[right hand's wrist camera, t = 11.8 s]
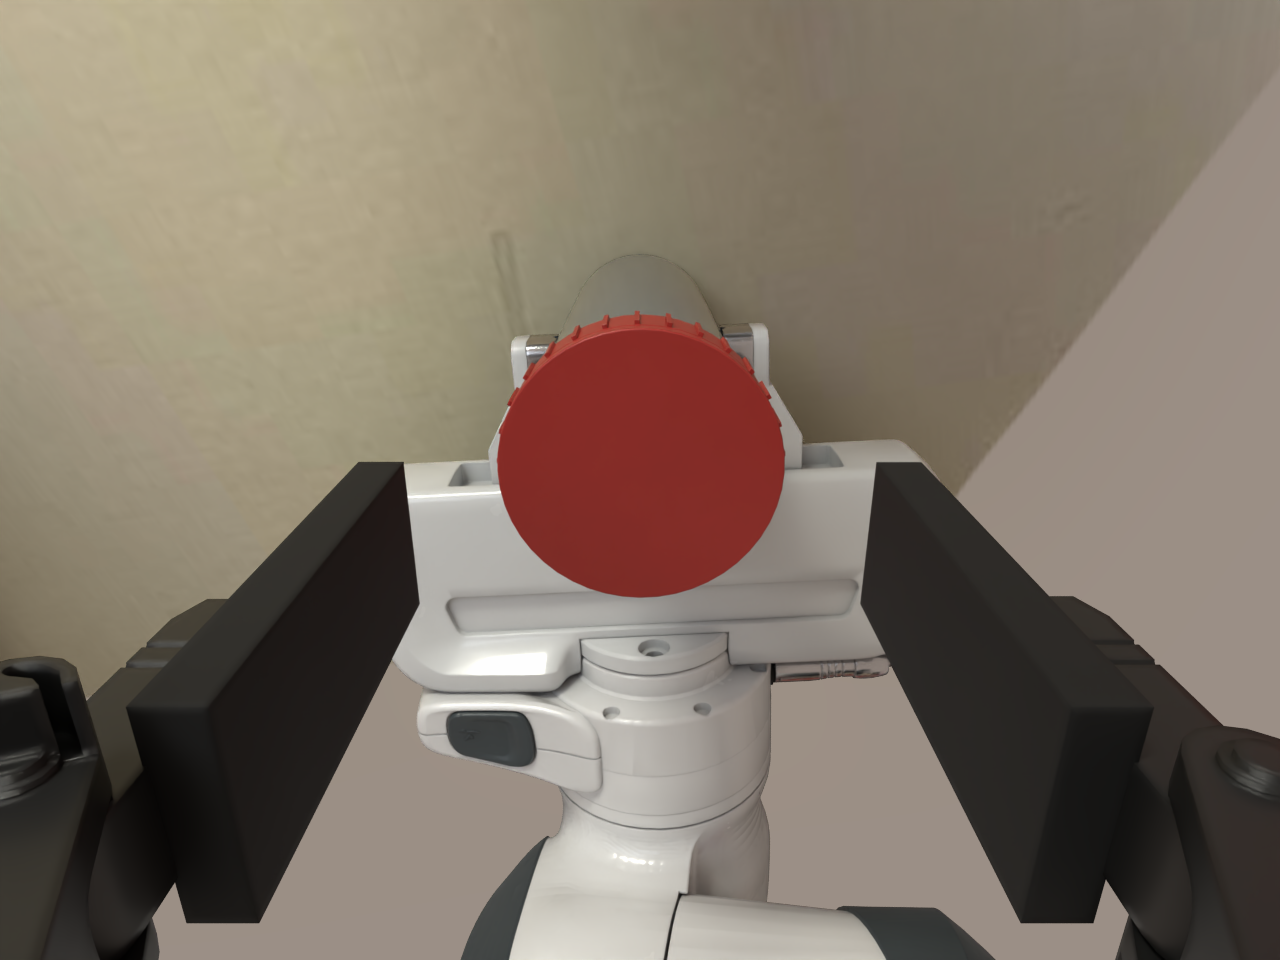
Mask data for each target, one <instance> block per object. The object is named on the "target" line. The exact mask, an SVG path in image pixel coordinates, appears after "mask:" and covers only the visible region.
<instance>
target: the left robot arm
mask: <svg viewBox="0 0 1280 960" xmlns="http://www.w3.org/2000/svg"><path fill="white" fill-rule="evenodd" d="M719 330H720V332H721V334H722V336H723V337H724V338H725V339H727V341H728V343H729V345H730V347H731V349H733V350H734V351H735V352H736V353H737V354H738V355H739V356H740V357H741V358H742V359H743V358H744V357H746V358H747V359H748V361H749V363H750V364H751V366H752V368H753V370H754V371H755V373H753V374H754V376H755V377H756V379H757V380H758V382H761V381H763V383H764V385H765V386H766V388H767V390H768V392H769V393H770V395H771V397H772V398H771V399H769V402H770V404H771V406H772V408H774V410H775V412H776V414H777V416H778V418H779V419H780V421H781V424H782V427H780V430H781V434H782V438H783V445H784V450H785V454H786V456H785V473H784V480H783V487H782V492H781V495H780V499H779V502H778V506H777V508H776V510H775V513H774V515H773V517H772V519H771V522H770V523H769V525H768V527H767V528H766V530H765V532H764V533H763V535H762V536H761V538H760V539H759V540H758V542H757V543H756V544H755V545H754V547H753V548H752V549H751V550H750V551H749V552H748V553H747V554H746V555H745V556H744V557H743V558H742V559H741V560H740V561H739V562H738V563H737V564H735V565H734V566H733V567H731V568H730V569H729V570H727V571H726V572H725V573H723V574H722V575H720V576H718V577H716V578H715V579H713V580H711V581H709V582H707V583H705V584H703V585H700V586H698V587H696V588H693V589H690V590H687V591H684V592H680V593H677V594H672V595H666V596H660V597H646V598H636V597H622V596H616V595H610V594H605V593H602V592H598V591H595V590H592V589H589V588H586V587H584V586H582V585H579V584H577V583H575V582H573V581H571V580H569V579H567V578H566V577H564V576H562V575H561V574H559V573H557V572H556V571H555V570H553V569H552V568H551V567H549V566H548V565H547V564H545V563H544V562H543V561H542V560H541V559H540V558H539V557H538V556H537V555H536V554H535V553H534V552H533V551H532V550H531V549H530V548H529V547H528V545H527V544H526V543H525V541H524V540H523V539H522V538H521V536H520V535H519V533H518V532H517V530H516V528H515V526H514V525H513V523H512V521H511V519H510V517H509V515H508V512H507V510H506V508H505V505H504V502H503V498H502V495H501V491H500V487H499V479H498V472H497V453H498V446H499V440H500V434H499V429H500V427H501V425H502V423H503V422H504V420H505V418H506V415H507V413H508V411H509V409H510V407H511V406H509V407H508V409H507V411H506V413H505V415H504V417H503V420H502V422H501V424H500V426H499V428H498V430H497V433H496V435H495V437H494V439H493V441H492V443H491V446H490V448H489V450H488V453H489V459H488V460H469V461H449V462H429V463H407V464H404V469H405V478H406V487H407V496H408V504H409V513H410V522H411V531H412V539H413V548H414V557H415V566H416V574H417V583H418V592H419V601H420V605H419V607H418V609H417V610H416V612H415V614H414V616H413V618H412V620H411V622H410V624H409V626H408V628H407V630H406V632H405V634H404V636H403V638H402V640H401V642H400V644H399V646H398V648H397V650H396V652H395V654H394V656H393V658H392V661H393V662H394V663H395V665H396V666H397V667H398V668H399V670H400V671H401V672H402V673H403V674H404V675H405V676H407V677H408V678H409V679H411V680H412V681H414V682H415V683H417V684H419V685H421V686H423V690H422V693H421V697H420V702H419V707H418V712H417V728H418V734H419V737H420V740H421V742H422V743H423V745H424V746H425V747H426V748H428V749H429V750H431V751H433V752H435V753H438V754H441V755H444V756H449V757H453V758H458V759H463V760H468V761H473V762H477V763H482V764H486V765H491V766H495V767H499V768H503V769H507V770H511V771H514V772H518V773H522V774H525V775H528V776H532V777H535V778H538V779H541V780H544V781H547V782H549V783H552V784H555V785H558V787H559V789H560V792H561V794H562V799H563V816H562V822H561V826H560V830H559V832H558V833H557V835H555V836H554V837H552V838H550V837H549V836H547V837H545V838H544V839H543V840H541V841H540V842H539V843H538V844H537V845H535V846H534V847H533V848H532V849H531V850H530V851H529V852H528V853H527V855H526V856H525V857H524V858H523V859H522V860H521V861H520V862H519V864H518V865H517V866H516V867H515V869H514V870H513V871H512V872H511V873H510V875H509V876H508V877H507V878H506V879H505V880H504V882H503V883H502V884H501V885H500V886H499V888H498V889H497V890H496V891H495V893H494V894H493V895H492V897H491V898H490V900H489V901H488V902H487V904H486V906H485V907H484V909H483V911H482V912H481V914H480V916H479V918H478V920H477V921H476V923H475V926H474V928H473V930H472V932H471V934H470V936H469V939H468V941H467V944H466V946H465V949H464V952H463V955H462V958H461V960H995V959H994V958H993V957H992V956H991V955H990V954H989V953H988V952H987V951H986V950H985V949H984V948H983V947H982V946H981V945H980V944H978V943H977V942H976V941H975V940H974V939H973V938H972V937H971V936H970V935H969V934H967V933H966V932H965V931H964V930H963V929H962V928H961V927H959V926H958V925H957V924H956V923H954V922H953V921H952V920H951V919H950V918H948V917H947V916H946V915H945V914H943V913H942V912H941V911H940V910H938V909H936V908H914V907H858V906H842V907H839V908H838V909H837V910H832V909H823V908H814V907H806V906H797V905H788V904H779V903H770V902H767V894H768V881H769V860H770V834H769V825H768V820H767V816H766V813H765V810H764V807H763V804H762V802H761V799H760V796H761V793H762V791H763V789H764V786H765V783H766V780H767V777H768V772H769V766H770V752H771V689H770V687H771V685H772V684H773V682H794V681H812V680H820V679H825V678H827V677H828V678H833V677H841V676H843V677H847V676H852V677H853V678H874V677H879V676H883V675H886V674H887V673H888V671H889V667H890V666H891V664H890V662H889V660H888V658H887V656H886V654H885V652H884V650H883V648H882V646H881V644H880V642H879V640H878V638H877V636H876V634H875V632H874V630H873V628H872V626H871V624H870V622H869V620H868V618H867V616H866V614H865V612H864V610H863V609H862V607H861V605H860V601H861V592H862V583H863V574H864V566H865V557H866V548H867V539H868V531H869V522H870V513H871V504H872V496H873V487H874V478H875V469H876V462H922V463H923V464H924V465H925V466H926V467H927V468H928V470H929V471H930V472H931V473H932V474H933V475H934V476H935V477H936V478H937V479H938V480H939V481H940V479H939V478H938V476H937V475H936V474H935V472H934V471H933V470H932V469H931V467H930V466H929V465H928V464H927V462H926V461H925V460H924V459H923V458H921V457H920V456H919V455H918V454H917V453H916V452H915V451H914V450H912V449H911V448H910V447H909V446H908V445H907V444H905V443H904V442H902V441H900V440H896V439H883V440H865V441H845V442H825V443H805V444H802V436H803V435H802V433H801V432H800V430H799V428H798V427H797V425H796V423H795V421H794V420H793V418H792V416H791V415H790V413H789V411H788V410H787V408H786V406H785V405H784V403H783V401H782V400H781V398H780V396H779V395H778V393H777V391H776V390H775V388H774V386H773V385H772V383H771V381H770V380H769V335H768V329H767V327H766V326H765V325H764V324H763V323H749V324H748V323H747V324H732V325H720V327H719ZM558 337H559V334H548V335H523V336H516V337H515V338H514V340H513V341H512V343H511V361H512V370H513V379H514V388H515V389H516V387H518V388H520V387H521V385H522V384H523V382H524V379H523V376H524V375H525V373H526V371H527V369H528V367H529V366H530V364H531V363H532V362H533V363H534V364H536V363H537V362H538V361H539V360H540V358H541V357H542V356H543V355H544V354H545V353H546V351H547V349H548V347H549V345H550V343H552V342H553V341H554V342H555V343H556V341H557V339H558ZM940 482H941V481H940Z"/></svg>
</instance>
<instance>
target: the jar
mask: <svg viewBox="0 0 1280 960" xmlns="http://www.w3.org/2000/svg"><path fill="white" fill-rule="evenodd" d="M635 311H640V314H643V315H657V316H664V317H665V315H666V313H669V314H671V318H674V319H678V320H681V321H684V322H687V323H690V324H693V325H695V322H698V323H700V324H701V327H702V329H703V330H705V331H707V332H709V333H711V334H713V335H714V336H716V337H717V338H719V339H720V340H721V338H722V337H723V336H722V334H721V332H720V330H719V328H718V326H717V324H716V322H715V320H714V318H713V316H712V314H711V312H710V310H709V307H708V305H707V303H706V301H705V299H704V297H703V295H702V293H701V291H700V289H699V288H698V286H697V284H696V283H695V282H694V280H693V279H692V278H691V277H690V276H689V275H688V274H687V273H686V272H685V271H684V270H683V269H682V268H680V267H679V266H677V265H676V264H674V263H672V262H670V261H668V260H666V259H663V258H660V257H657V256H652V255H642V254H639V255H629V256H624V257H621V258H618V259H615V260H613V261H611V262H609V263H607V264H605V265H604V266H602V267H601V268H599V269H598V270H597V271H596V272H595V273H593V274H592V275H591V277H590V278H589V279H588V280H587V281H586V283H585V284H584V286H583V287H582V289H581V291H580V293H579V295H578V297H577V299H576V301H575V303H574V305H573V308H572V310H571V312H570V314H569V316H568V318H567V320H566V322H565V324H564V326H563V329H562V331H561V333H560V335H559V337H558V339H557V341H556V343H558V342H559V341H560V340H562V339H563V338H565V337H566V336H568V335H569V334H571V333H573V331H574V329H575V327H576V326H578V325H580V327H581V328H583V327H585V326H587V325H589V324H592V323H595V322H598V321H601V320H603V318H604V315H609V318H613V317H618V316H624V315H635ZM556 343H555V344H556Z"/></svg>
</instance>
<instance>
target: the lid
mask: <svg viewBox="0 0 1280 960" xmlns="http://www.w3.org/2000/svg"><path fill="white" fill-rule="evenodd" d="M753 373H755V371H754V370H753V368H752V366H751V364H750V363H749V361H748V359H747V358H746V357H744V358H743V359H742V358H741V357H740V356H739V355H738V354H737V353H736V352H735V351H734V350H733V349H731V347H730V345H729V343H728V341H727V339H725V338H724V337H722V338H721V340H720V339H719V338H717V337H716V336H714V335H713V334H711V333H709V332H707V331H705V330H703V329H702V327H701V324H700V323H698V322H695V325H693V324H690V323H687V322H684V321H681V320H678V319H674V318H671V314H669V313H666V315H665V317H664V316H657V315H643V314H640V311H635V315H624V316H618V317H613V318H609V315H604V318H603V320H601V321H598V322H595V323H592V324H589V325H587V326H585V327H583V328H581V327H580V325H578V326H576V327H575V329H574V331H573V333H571V334H569V335H568V336H566V337H565V338H563V339H562V340H560V341H559V342H558V343H556V344H555V342H554V341H553V342H552V343H550V345H549V347H548V349H547V351H546V353H545V354H544V355H543V356H542V357H541V358H540V360H539V361H538V362H537V363H536V364H534V363H533V362H532V363H531V364H530V366H529V367H528V369H527V371H526V373H525V375H524V376H523V379H524V382H523V384H522V385H521V387H520V388H518V387H516V389H515V391H514V393H513V394H512V396H511V398H510V400H509V402H508V404H507V405H508V406H511V407H510V409H509V411H508V413H507V415H506V418H505V420H504V422H503V423H502V425H501V427H500V429H499V434H500V440H499V446H498V453H497V472H498V479H499V487H500V491H501V495H502V498H503V502H504V505H505V508H506V510H507V512H508V515H509V517H510V519H511V521H512V523H513V525H514V526H515V528H516V530H517V532H518V533H519V535H520V536H521V538H522V539H523V540H524V541H525V543H526V544H527V545H528V547H529V548H530V549H531V550H532V551H533V552H534V553H535V554H536V555H537V556H538V557H539V558H540V559H541V560H542V561H543V562H544V563H545V564H547V565H548V566H549V567H551V568H552V569H553V570H555V571H556V572H557V573H559V574H561V575H562V576H564V577H566V578H567V579H569V580H571V581H573V582H575V583H577V584H579V585H582V586H584V587H586V588H589V589H592V590H595V591H598V592H602V593H605V594H610V595H616V596H622V597H636V598H646V597H660V596H666V595H672V594H677V593H680V592H684V591H687V590H690V589H693V588H696V587H698V586H700V585H703V584H705V583H707V582H709V581H711V580H713V579H715V578H716V577H718V576H720V575H722V574H723V573H725V572H726V571H727V570H729V569H730V568H731V567H733V566H734V565H735V564H737V563H738V562H739V561H740V560H741V559H742V558H743V557H744V556H745V555H746V554H747V553H748V552H749V551H750V550H751V549H752V548H753V547H754V545H755V544H756V543H757V542H758V540H759V539H760V538H761V536H762V535H763V533H764V532H765V530H766V528H767V527H768V525H769V523H770V522H771V519H772V517H773V515H774V513H775V510H776V508H777V506H778V502H779V499H780V495H781V492H782V487H783V480H784V473H785V456H786V454H785V450H784V445H783V438H782V434H781V430H780V427H782V424H781V421H780V419H779V418H778V416H777V414H776V412H775V410H774V408H772V406H771V404H770V402H769V399H771V398H772V397H771V395H770V393H769V392H768V390H767V388H766V386H765V385H764V383H763V381H761V382H758V380H757V379H756V377H755V376H754V374H753Z"/></svg>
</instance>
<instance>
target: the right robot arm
mask: <svg viewBox="0 0 1280 960" xmlns="http://www.w3.org/2000/svg"><path fill="white" fill-rule="evenodd" d="M419 605H420V601H419V592H418V583H417V574H416V566H415V557H414V548H413V539H412V531H411V522H410V513H409V504H408V496H407V487H406V478H405V469H404V462H358V463H357V464H356V465H355V466H354V467H353V468H352V470H351V471H350V472H349V473H348V474H347V475H346V476H345V477H344V478H343V479H342V480H341V481H340V482H339V483H338V484H337V485H336V486H335V487H334V488H333V490H332V491H331V492H330V493H329V494H328V495H327V496H326V497H325V498H324V499H323V500H322V501H321V502H320V503H319V504H318V505H317V506H316V507H315V508H314V509H313V511H312V512H311V513H310V514H309V515H308V516H307V517H306V518H305V519H304V520H303V521H302V522H301V523H300V524H299V525H298V526H297V527H296V528H295V529H294V531H293V532H292V533H291V534H290V535H289V536H288V537H287V538H286V539H285V540H284V541H283V542H282V543H281V544H280V545H279V546H278V547H277V548H276V549H275V550H274V552H273V553H272V554H271V555H270V556H269V557H268V558H267V559H266V560H265V561H264V562H263V563H262V564H261V565H260V566H259V567H258V568H257V569H256V570H255V572H254V573H253V574H252V575H251V576H250V577H249V578H248V579H247V580H246V581H245V582H244V583H243V584H242V585H241V586H240V587H239V588H238V589H237V590H236V591H235V593H234V594H233V595H232V596H231V597H230V598H229V599H207V600H205V601H203V602H201V603H199V604H198V605H196V606H194V607H192V608H190V609H189V610H187V611H185V612H183V613H182V614H180V615H178V616H176V617H174V618H173V619H171V620H170V621H169V622H168V623H167V624H166V625H165V626H164V627H163V628H162V629H161V630H160V631H159V632H157V633H156V634H155V635H154V636H153V637H152V638H151V639H150V640H149V641H148V642H147V647H146V648H141V649H140V650H139V651H138V652H137V653H136V654H135V655H134V656H133V657H132V658H131V659H130V660H129V661H127V662H126V668H120V669H119V670H118V671H117V672H116V673H115V674H114V675H113V676H112V677H111V678H110V679H109V680H108V681H107V682H106V683H105V684H104V685H103V686H102V687H101V688H100V689H98V690H97V691H96V692H95V693H94V694H93V695H92V696H91V697H90V698H89V699H88V700H87V701H86V698H85V695H84V692H83V688H82V685H81V682H80V678H79V675H78V672H77V669H76V667H75V666H73V665H72V664H70V663H69V662H67V661H66V660H64V659H60V658H52V657H44V656H36V657H27V658H17V659H9V660H5V661H1V662H0V960H158V958H159V945H158V938H157V933H156V929H155V926H154V923H153V920H152V917H153V915H154V914H155V912H156V911H157V909H158V907H159V906H160V904H161V903H162V901H163V900H164V898H165V897H166V895H167V894H168V892H169V891H170V889H171V888H172V886H173V884H174V883H176V887H177V891H178V894H179V898H180V901H181V905H182V909H183V912H184V916H185V919H186V923H259V922H260V921H261V919H262V917H263V914H264V913H265V911H266V909H267V907H268V905H269V903H270V901H271V899H272V897H273V895H274V893H275V891H276V889H277V887H278V885H279V883H280V881H281V879H282V877H283V875H284V873H285V871H286V869H287V867H288V865H289V863H290V861H291V859H292V857H293V855H294V853H295V851H296V849H297V847H298V845H299V843H300V841H301V839H302V837H303V835H304V833H305V831H306V829H307V827H308V825H309V823H310V821H311V819H312V817H313V815H314V813H315V811H316V809H317V807H318V805H319V803H320V801H321V799H322V797H323V795H324V793H325V791H326V789H327V787H328V785H329V783H330V781H331V779H332V777H333V775H334V773H335V771H336V770H337V767H338V765H339V764H340V762H341V759H342V758H343V755H344V754H345V751H346V750H347V748H348V746H349V744H350V742H351V740H352V738H353V736H354V734H355V732H356V730H357V728H358V726H359V724H360V722H361V720H362V718H363V716H364V714H365V712H366V710H367V708H368V706H369V704H370V702H371V700H372V698H373V696H374V694H375V692H376V690H377V688H378V686H379V684H380V682H381V680H382V678H383V676H384V674H385V672H386V670H387V668H388V666H389V664H390V662H391V660H392V658H393V656H394V654H395V652H396V650H397V648H398V646H399V644H400V642H401V640H402V638H403V636H404V634H405V632H406V630H407V628H408V626H409V624H410V622H411V620H412V618H413V616H414V614H415V612H416V610H417V609H418V607H419ZM860 605H861V607H862V609H863V610H864V612H865V614H866V616H867V618H868V620H869V622H870V624H871V626H872V628H873V630H874V632H875V634H876V636H877V638H878V640H879V642H880V644H881V646H882V648H883V650H884V652H885V654H886V656H887V658H888V660H889V662H890V664H891V666H892V668H893V670H894V672H895V674H896V676H897V678H898V680H899V682H900V684H901V686H902V688H903V690H904V692H905V694H906V696H907V698H908V700H909V702H910V704H911V706H912V708H913V710H914V712H915V714H916V716H917V718H918V720H919V722H920V724H921V726H922V728H923V730H924V732H925V734H926V736H927V738H928V740H929V742H930V744H931V746H932V748H933V750H934V752H935V754H936V756H937V758H938V759H939V762H940V764H941V766H942V768H943V770H944V771H945V773H946V775H947V777H948V779H949V781H950V783H951V785H952V787H953V789H954V791H955V793H956V795H957V797H958V799H959V801H960V803H961V805H962V807H963V809H964V811H965V813H966V815H967V817H968V819H969V821H970V823H971V825H972V827H973V829H974V831H975V833H976V835H977V837H978V839H979V841H980V843H981V845H982V847H983V849H984V851H985V853H986V855H987V857H988V859H989V861H990V863H991V865H992V867H993V869H994V871H995V873H996V875H997V877H998V879H999V881H1000V883H1001V885H1002V887H1003V889H1004V891H1005V893H1006V895H1007V897H1008V899H1009V901H1010V903H1011V905H1012V906H1013V909H1014V911H1015V913H1016V915H1017V917H1018V919H1019V921H1020V923H1094V919H1095V915H1096V912H1097V909H1098V905H1099V901H1100V898H1101V894H1102V891H1103V887H1104V884H1105V880H1107V882H1108V883H1109V885H1110V886H1111V888H1112V889H1113V891H1114V892H1115V894H1116V895H1117V897H1118V899H1119V900H1120V902H1121V903H1122V905H1123V906H1124V908H1125V909H1126V911H1127V912H1128V914H1129V916H1128V920H1127V923H1126V926H1125V929H1124V933H1123V936H1122V939H1121V943H1120V946H1119V949H1118V953H1117V956H1116V959H1115V960H1280V739H1278V738H1275V737H1272V736H1269V735H1265V734H1262V733H1259V732H1255V731H1252V730H1249V729H1243V728H1236V727H1227V726H1223V725H1222V724H1221V723H1220V722H1219V721H1218V720H1217V719H1216V718H1215V717H1214V716H1213V715H1212V714H1211V713H1210V712H1209V711H1208V710H1207V709H1205V708H1204V707H1203V706H1202V705H1201V704H1200V703H1199V702H1198V701H1197V700H1196V699H1195V698H1194V697H1193V696H1192V695H1191V694H1190V693H1189V692H1188V691H1187V690H1186V689H1185V688H1184V687H1183V686H1181V685H1180V684H1179V683H1178V682H1177V681H1176V680H1175V679H1174V678H1173V677H1172V676H1171V675H1170V674H1169V673H1168V672H1167V671H1166V670H1165V669H1164V668H1163V667H1162V666H1161V665H1155V662H1154V659H1153V658H1152V657H1151V656H1150V655H1149V654H1148V653H1147V652H1146V651H1145V650H1144V649H1143V648H1142V647H1141V646H1140V645H1135V644H1134V640H1133V639H1132V638H1131V637H1130V636H1129V635H1128V634H1127V633H1126V632H1125V631H1124V630H1123V629H1122V628H1121V627H1120V626H1119V625H1118V624H1117V623H1116V622H1115V621H1114V620H1113V619H1112V618H1110V616H1108V615H1106V614H1104V613H1102V612H1101V611H1099V610H1097V609H1095V608H1093V607H1091V606H1090V605H1088V604H1086V603H1084V602H1082V601H1081V600H1079V599H1077V598H1075V597H1073V596H1048V595H1047V594H1046V593H1045V591H1044V590H1043V589H1042V588H1041V587H1040V586H1039V585H1038V584H1037V583H1036V582H1035V581H1034V580H1033V579H1032V578H1031V577H1030V576H1029V575H1028V574H1027V573H1026V572H1025V570H1024V569H1023V568H1022V567H1021V566H1020V565H1019V564H1018V563H1017V562H1016V561H1015V560H1014V559H1013V558H1012V557H1011V556H1010V555H1009V554H1008V553H1007V552H1006V550H1005V549H1004V548H1003V547H1002V546H1001V545H1000V544H999V543H998V542H997V541H996V540H995V539H994V538H993V537H992V536H991V535H990V534H989V533H988V532H987V531H986V529H985V528H984V527H983V526H982V525H981V524H980V523H979V522H978V521H977V520H976V519H975V518H974V517H973V516H972V515H971V514H970V513H969V512H968V511H967V510H966V508H965V507H964V506H963V505H962V504H961V503H960V502H959V501H958V500H957V499H956V498H955V497H954V496H953V495H952V494H951V493H950V492H949V491H948V490H947V488H946V487H945V486H944V485H943V484H942V483H941V482H940V481H939V480H938V479H937V478H936V477H935V476H934V475H933V474H932V473H931V472H930V471H929V470H928V468H927V467H926V466H925V465H924V464H923V463H922V462H876V469H875V478H874V487H873V496H872V504H871V513H870V522H869V531H868V539H867V548H866V557H865V566H864V574H863V583H862V592H861V601H860Z"/></svg>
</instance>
